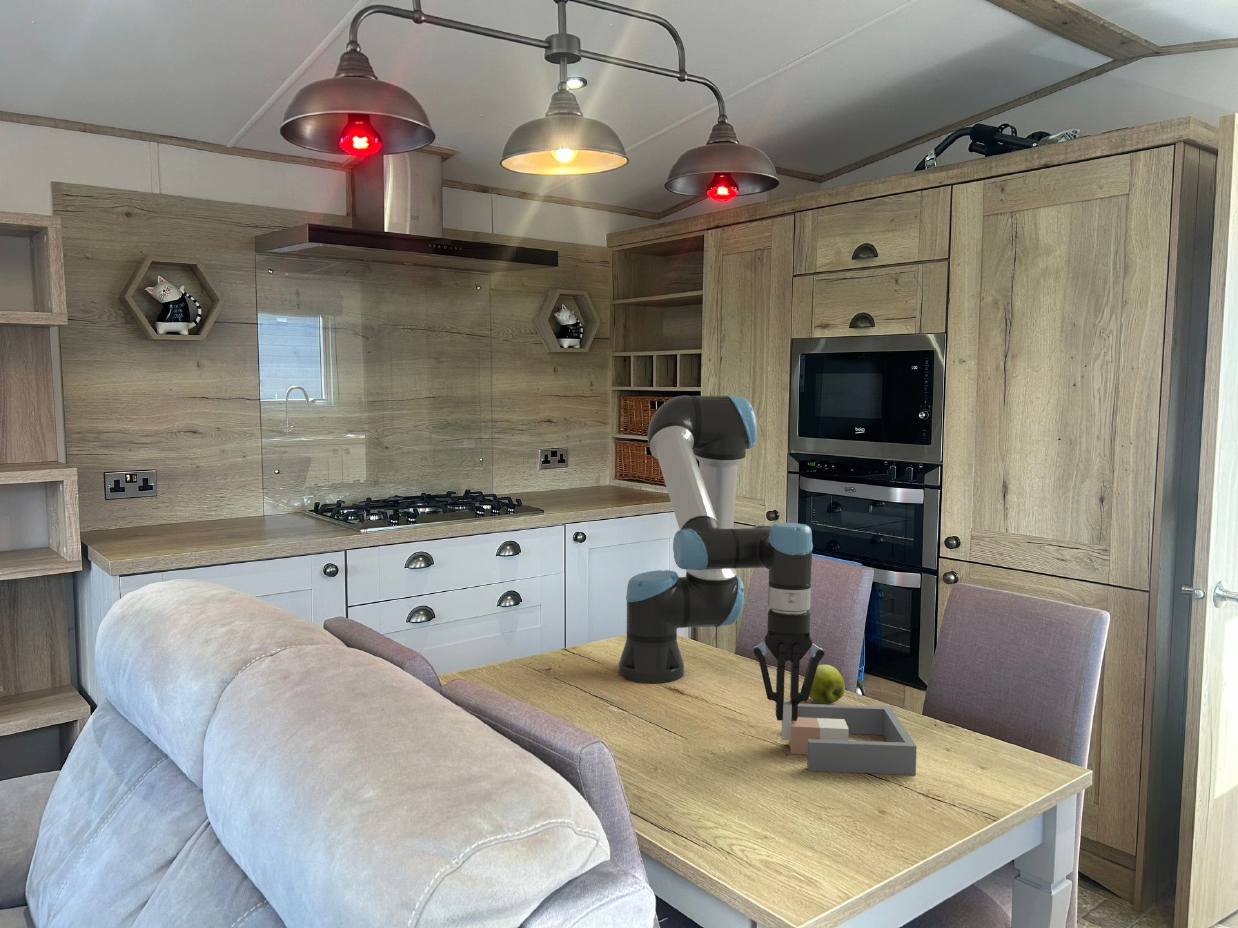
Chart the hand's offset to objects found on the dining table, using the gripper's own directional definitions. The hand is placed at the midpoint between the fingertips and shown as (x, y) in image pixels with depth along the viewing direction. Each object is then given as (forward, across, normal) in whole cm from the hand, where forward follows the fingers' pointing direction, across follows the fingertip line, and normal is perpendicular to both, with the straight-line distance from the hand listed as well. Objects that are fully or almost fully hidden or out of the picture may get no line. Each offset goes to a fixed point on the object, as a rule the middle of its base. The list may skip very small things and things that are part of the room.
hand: (786, 737), depth 165 cm
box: (+2, +12, 0) cm, 12 cm away
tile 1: (+2, +3, 0) cm, 4 cm away
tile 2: (+2, +8, 0) cm, 8 cm away
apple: (+2, +10, +26) cm, 28 cm away
